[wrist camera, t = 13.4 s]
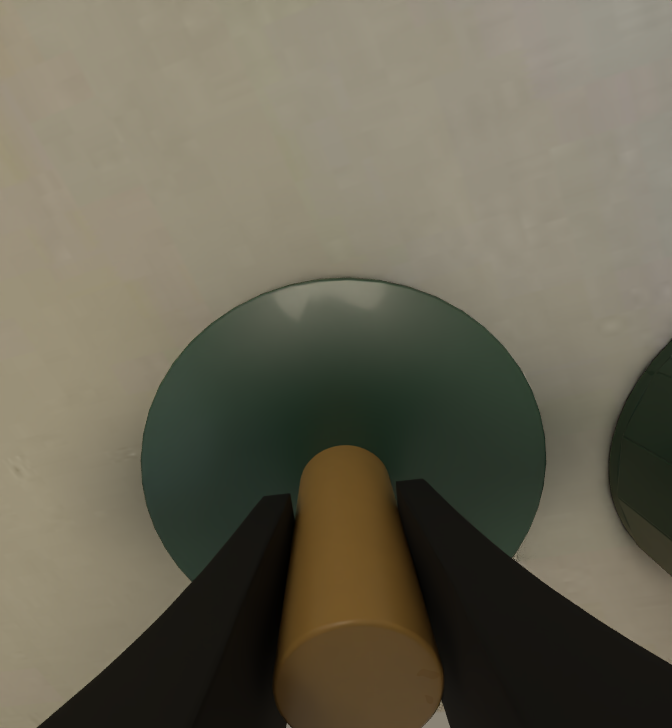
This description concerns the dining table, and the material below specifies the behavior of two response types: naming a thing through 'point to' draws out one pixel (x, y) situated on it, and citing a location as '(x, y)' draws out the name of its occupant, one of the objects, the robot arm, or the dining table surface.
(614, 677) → the robot arm
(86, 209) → the dining table surface
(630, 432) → the tin
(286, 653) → the lid
